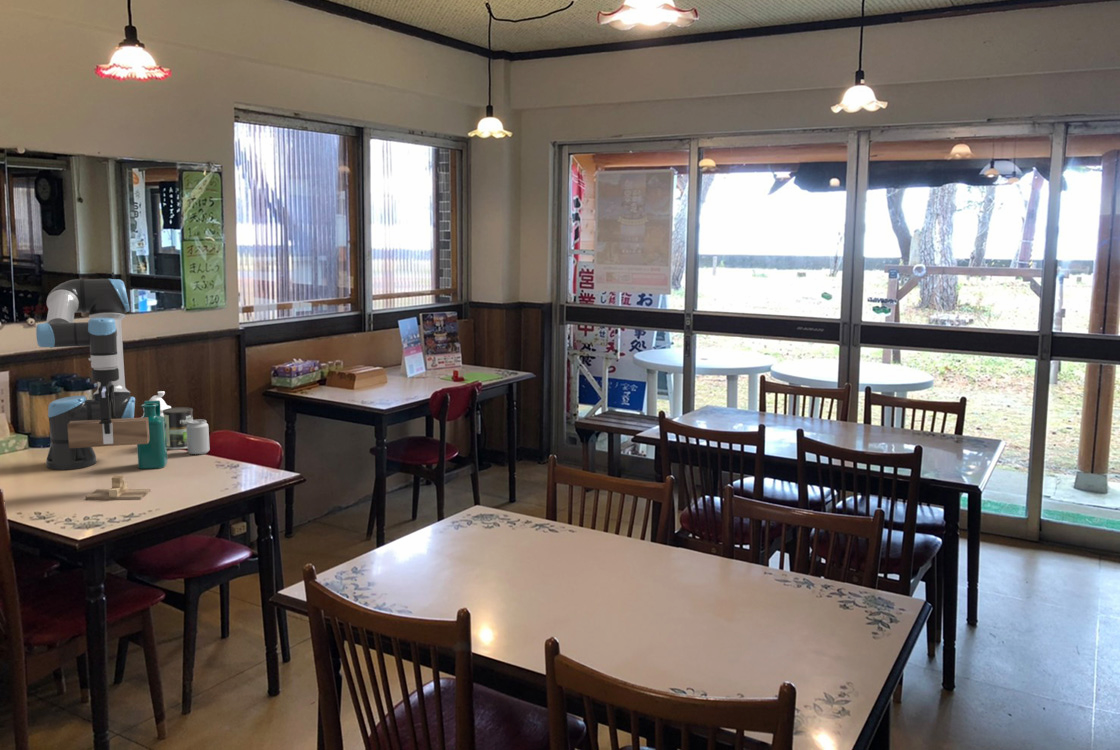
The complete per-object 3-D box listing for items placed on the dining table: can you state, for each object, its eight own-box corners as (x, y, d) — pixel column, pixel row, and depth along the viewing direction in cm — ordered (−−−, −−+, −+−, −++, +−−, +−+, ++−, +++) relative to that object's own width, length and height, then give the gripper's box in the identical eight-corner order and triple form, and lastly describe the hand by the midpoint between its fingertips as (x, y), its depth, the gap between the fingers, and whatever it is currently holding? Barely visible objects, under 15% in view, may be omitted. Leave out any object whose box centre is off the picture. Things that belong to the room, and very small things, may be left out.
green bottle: (164, 468, 303) (160, 405, 300) (137, 469, 301) (133, 406, 298) (169, 461, 313) (165, 399, 309) (143, 462, 311) (139, 400, 307)
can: (214, 451, 326) (212, 419, 324) (198, 456, 320) (196, 423, 318) (199, 449, 329) (197, 417, 327) (183, 453, 323) (181, 421, 321)
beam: (72, 444, 276) (70, 421, 275) (149, 440, 283) (148, 417, 282) (69, 448, 272) (67, 424, 270) (147, 443, 279) (146, 420, 277)
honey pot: (177, 432, 355) (175, 388, 352) (174, 440, 343) (171, 394, 340) (142, 434, 351) (139, 389, 348) (138, 441, 339) (135, 395, 336)
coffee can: (200, 444, 336) (198, 408, 334) (180, 450, 327) (178, 413, 325) (179, 441, 340) (177, 405, 338) (158, 448, 330) (156, 411, 328)
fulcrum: (97, 491, 276) (95, 473, 275) (150, 491, 277) (149, 472, 276) (86, 499, 268) (84, 480, 267) (140, 499, 269) (139, 480, 268)
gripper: (95, 364, 281) (100, 436, 284) (86, 372, 264) (91, 448, 268) (122, 363, 283) (126, 434, 287) (114, 371, 267) (119, 447, 270)
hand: (109, 441), depth 277 cm, fingers closed on beam, 5 cm apart
